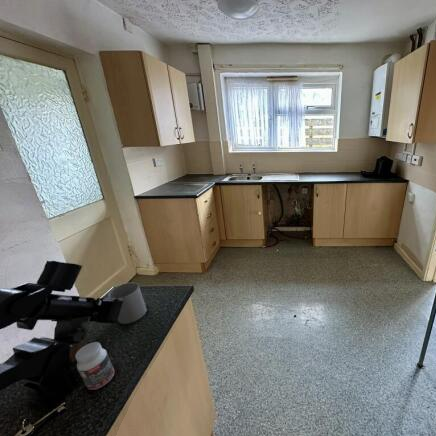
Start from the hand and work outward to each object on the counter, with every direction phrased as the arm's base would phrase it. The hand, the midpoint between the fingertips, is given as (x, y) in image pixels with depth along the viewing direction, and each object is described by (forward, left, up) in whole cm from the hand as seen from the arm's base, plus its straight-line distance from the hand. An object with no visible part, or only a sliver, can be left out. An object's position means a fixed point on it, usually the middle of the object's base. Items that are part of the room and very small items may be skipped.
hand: (111, 310), depth 71 cm
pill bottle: (-13, -10, -8) cm, 19 cm away
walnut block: (-10, +5, -8) cm, 14 cm away
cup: (+7, +2, -8) cm, 10 cm away
